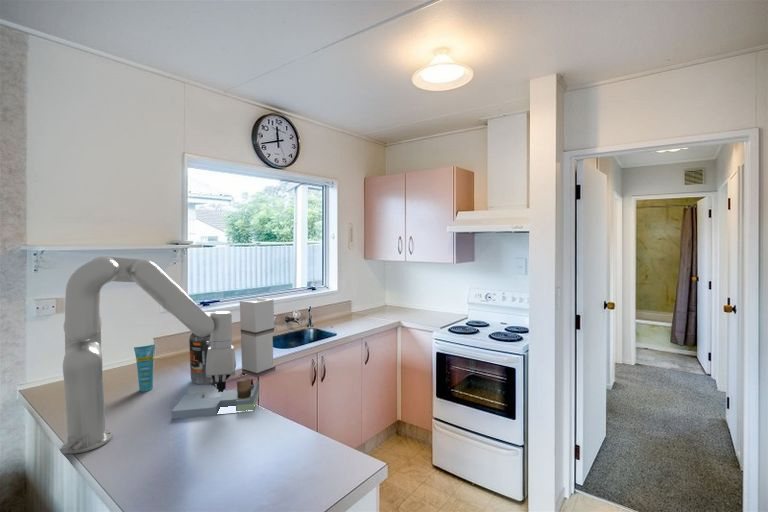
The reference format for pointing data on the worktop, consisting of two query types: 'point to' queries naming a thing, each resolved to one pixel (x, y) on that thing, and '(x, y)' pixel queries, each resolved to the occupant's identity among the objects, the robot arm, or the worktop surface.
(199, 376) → the supplement tub
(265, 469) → the worktop surface
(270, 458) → the worktop surface
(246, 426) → the worktop surface
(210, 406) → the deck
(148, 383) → the tube
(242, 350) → the banded white pillar
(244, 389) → the brown wooden block
